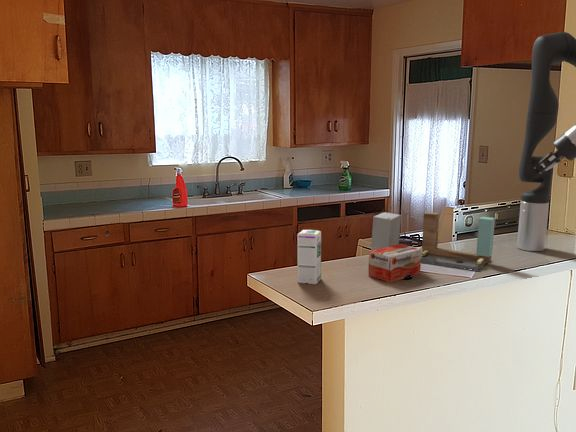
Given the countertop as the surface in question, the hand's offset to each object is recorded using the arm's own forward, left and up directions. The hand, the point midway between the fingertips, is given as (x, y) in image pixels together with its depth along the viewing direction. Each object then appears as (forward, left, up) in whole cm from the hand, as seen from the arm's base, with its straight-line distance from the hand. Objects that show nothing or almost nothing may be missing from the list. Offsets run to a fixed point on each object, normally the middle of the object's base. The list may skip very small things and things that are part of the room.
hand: (529, 177), depth 164 cm
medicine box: (+29, -30, -29) cm, 51 cm away
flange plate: (+3, -21, -29) cm, 36 cm away
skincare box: (+18, -38, -29) cm, 51 cm away
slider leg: (+3, -11, -27) cm, 30 cm away
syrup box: (+49, -48, -29) cm, 75 cm away
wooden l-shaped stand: (+3, -20, -27) cm, 34 cm away
